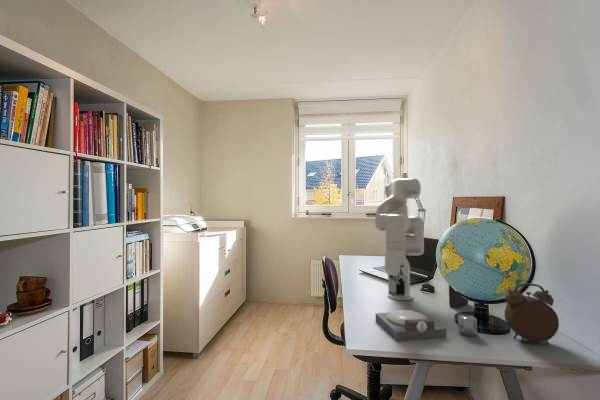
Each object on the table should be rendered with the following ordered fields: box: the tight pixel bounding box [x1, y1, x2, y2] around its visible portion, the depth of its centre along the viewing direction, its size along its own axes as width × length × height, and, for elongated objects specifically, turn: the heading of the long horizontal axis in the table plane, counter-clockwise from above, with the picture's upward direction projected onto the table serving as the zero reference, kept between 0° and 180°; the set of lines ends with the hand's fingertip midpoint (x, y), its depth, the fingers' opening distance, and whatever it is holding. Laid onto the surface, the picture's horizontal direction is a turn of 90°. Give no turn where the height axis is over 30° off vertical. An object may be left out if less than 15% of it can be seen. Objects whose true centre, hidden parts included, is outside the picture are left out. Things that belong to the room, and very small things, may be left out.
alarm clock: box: [504, 282, 560, 345], centre depth 102 cm, size 15×7×20 cm, turn 78°
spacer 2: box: [457, 314, 478, 338], centre depth 109 cm, size 6×6×6 cm
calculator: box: [448, 284, 469, 309], centre depth 140 cm, size 11×4×15 cm, turn 123°
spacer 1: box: [387, 277, 405, 296], centre depth 115 cm, size 6×6×6 cm
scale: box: [375, 309, 448, 342], centre depth 114 cm, size 19×19×6 cm
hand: (396, 291), depth 115 cm, fingers closed on spacer 1, 6 cm apart
